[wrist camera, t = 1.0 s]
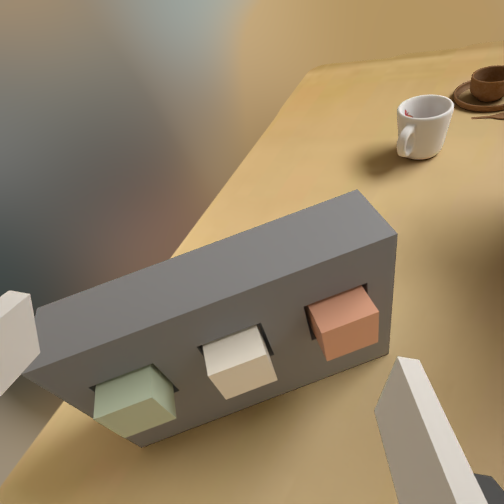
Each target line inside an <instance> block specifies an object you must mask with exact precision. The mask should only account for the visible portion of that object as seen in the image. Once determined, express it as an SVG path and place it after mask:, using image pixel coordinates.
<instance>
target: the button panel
mask: <svg viewBox="0 0 504 504" xmlns="http://www.w3.org/2000/svg"><path fill="white" fill-rule="evenodd" d="M396 248H397V233H396V232H395V230H394V229H393V228H392V227H391V226H390V225H389V224H388V223H387V222H386V220H385V219H384V218H383V217H382V216H381V215H380V214H379V213H378V212H377V210H376V209H375V208H374V207H373V206H372V205H371V204H370V203H369V202H368V201H367V199H366V198H365V197H364V196H363V195H362V194H361V193H360V192H359V191H358V189H357V190H354V191H352V192H349V193H346V194H343V195H341V196H338V197H335V198H333V199H330V200H327V201H325V202H322V203H319V204H317V205H314V206H311V207H308V208H306V209H303V210H300V211H298V212H295V213H292V214H290V215H287V216H284V217H282V218H279V219H276V220H273V221H271V222H268V223H265V224H263V225H260V226H257V227H255V228H252V229H249V230H247V231H244V232H241V233H238V234H236V235H233V236H230V237H228V238H225V239H222V240H220V241H217V242H214V243H212V244H209V245H206V246H203V247H201V248H198V249H195V250H193V251H190V252H187V253H185V254H182V255H179V256H176V257H174V258H171V259H168V260H166V261H163V262H161V263H158V264H155V265H152V266H150V267H147V268H144V269H141V270H139V271H136V272H133V273H131V274H128V275H125V276H123V277H120V278H117V279H115V280H112V281H109V282H106V283H104V284H101V285H98V286H96V287H93V288H91V289H88V290H85V291H82V292H80V293H77V294H74V295H71V296H69V297H66V298H63V299H61V300H58V301H55V302H53V303H50V304H47V305H45V306H42V307H39V308H37V312H36V316H35V325H36V331H37V336H38V342H39V347H40V354H39V355H38V356H37V357H36V358H35V359H34V360H33V361H32V362H31V364H30V365H29V366H28V367H27V368H26V369H25V370H24V371H23V372H22V373H21V375H22V376H24V377H26V378H27V379H29V380H31V381H33V382H34V383H36V384H37V385H39V386H41V387H42V388H44V389H46V390H47V391H49V392H51V393H52V394H54V395H55V396H57V397H59V398H60V399H62V400H64V401H65V402H67V403H69V404H70V405H72V406H73V407H75V408H77V409H78V410H80V411H82V412H83V413H85V414H87V415H88V416H90V417H92V418H93V416H94V402H95V389H96V385H97V384H99V383H102V382H104V381H107V380H110V379H112V378H115V377H118V376H120V375H123V374H126V373H128V372H131V371H134V370H136V369H139V368H142V367H144V366H147V365H150V364H152V363H153V364H154V365H155V366H156V367H157V368H158V369H159V370H160V371H161V372H162V373H163V374H164V375H165V376H166V377H167V378H168V379H169V380H170V381H171V382H172V383H173V389H174V399H175V409H176V419H174V420H171V421H169V422H166V423H163V424H161V425H158V426H155V427H153V428H150V429H148V430H145V431H142V432H140V433H137V434H134V435H132V436H129V437H126V439H128V440H129V441H131V442H133V443H134V444H136V445H138V446H139V447H141V448H142V447H144V446H147V445H150V444H152V443H155V442H157V441H160V440H163V439H165V438H168V437H171V436H173V435H176V434H179V433H181V432H184V431H186V430H189V429H192V428H194V427H197V426H200V425H202V424H205V423H208V422H210V421H213V420H215V419H218V418H221V417H223V416H226V415H229V414H231V413H234V412H236V411H239V410H242V409H244V408H247V407H250V406H252V405H255V404H258V403H260V402H263V401H265V400H268V399H271V398H273V397H276V396H279V395H281V394H284V393H286V392H289V391H292V390H294V389H297V388H300V387H302V386H305V385H308V384H310V383H313V382H315V381H318V380H321V379H323V378H326V377H329V376H331V375H334V374H337V373H339V372H342V371H344V370H347V369H350V368H352V367H355V366H358V365H360V364H363V363H365V362H368V361H371V360H373V359H376V358H379V357H381V356H384V355H387V354H389V341H390V328H391V314H392V301H393V288H394V274H395V261H396ZM360 285H362V287H363V288H364V290H365V291H366V293H367V294H368V296H369V297H370V299H371V300H372V302H373V303H374V305H375V306H376V308H377V309H378V311H379V333H378V342H377V343H375V344H372V345H369V346H367V347H364V348H361V349H359V350H356V351H353V352H351V353H348V354H345V355H343V356H340V357H338V358H335V359H332V360H330V361H327V360H326V358H325V356H324V354H323V352H322V350H321V348H320V345H319V343H318V341H317V339H316V337H315V335H314V333H313V330H312V328H311V326H310V324H309V322H308V320H307V318H306V314H305V310H304V306H307V305H309V304H312V303H315V302H317V301H320V300H323V299H325V298H328V297H331V296H333V295H336V294H339V293H341V292H344V291H347V290H349V289H352V288H355V287H357V286H360ZM256 324H259V326H260V329H261V332H262V335H263V338H264V341H265V344H266V347H267V350H268V353H269V356H270V359H271V362H272V365H273V368H274V370H275V373H276V376H277V379H278V380H277V381H274V382H271V383H269V384H266V385H264V386H261V387H258V388H256V389H253V390H250V391H248V392H245V393H242V394H240V395H237V396H235V397H232V398H229V399H227V400H226V399H225V398H224V396H223V395H222V394H221V393H220V391H219V390H218V389H217V387H216V386H215V385H214V383H213V382H212V381H211V380H210V378H209V377H208V374H207V368H206V363H205V357H204V352H203V346H202V345H203V344H206V343H208V342H211V341H214V340H216V339H219V338H222V337H224V336H227V335H229V334H232V333H235V332H237V331H240V330H243V329H245V328H248V327H251V326H253V325H256Z"/></svg>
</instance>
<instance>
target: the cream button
mask: <svg viewBox="0 0 504 504" xmlns="http://www.w3.org/2000/svg"><path fill="white" fill-rule="evenodd" d="M202 346H203V352H204V357H205V363H206V368H207V374H208V377H209V378H210V380H211V381H212V382H213V383H214V385H215V386H216V387H217V389H218V390H219V391H220V393H221V394H222V395H223V396H224V398H225V399H226V400H227V399H229V398H232V397H235V396H237V395H240V394H242V393H245V392H248V391H250V390H253V389H256V388H258V387H261V386H264V385H266V384H269V383H271V382H274V381H277V380H278V379H277V376H276V373H275V370H274V368H273V365H272V362H271V359H270V356H269V353H268V350H267V347H266V344H265V341H264V338H263V335H262V332H261V329H260V326H259V324H256V325H253V326H251V327H248V328H245V329H243V330H240V331H237V332H235V333H232V334H229V335H227V336H224V337H222V338H219V339H216V340H214V341H211V342H208V343H206V344H203V345H202Z"/></svg>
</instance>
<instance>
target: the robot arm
mask: <svg viewBox="0 0 504 504" xmlns="http://www.w3.org/2000/svg"><path fill="white" fill-rule="evenodd" d="M39 354H40V347H39V342H38V336H37V331H36V325H35V319H34V314H33V308H32V303H31V297H30V294H27V293H21V292H15V291H8V292H6V293H5V294H4V295H2V296H1V297H0V396H1V395H2V394H3V393H4V392H5V391H6V390H7V389H8V387H9V386H10V385H11V384H12V383H13V382H14V381H15V380H16V379H17V378H18V377H19V375H20V374H21V373H22V372H23V371H24V370H25V369H26V368H27V367H28V366H29V365H30V364H31V362H32V361H33V360H34V359H35V358H36V357H37V356H38V355H39ZM374 412H375V415H376V419H377V423H378V427H379V430H380V434H381V438H382V442H383V446H384V449H385V453H386V457H387V461H388V464H389V468H390V472H391V476H392V479H393V483H394V487H395V491H396V494H397V498H398V502H399V504H504V491H503V489H502V488H501V487H500V486H499V485H498V484H497V482H496V481H495V480H494V479H493V478H492V477H491V476H485V475H479V474H474V473H473V471H472V469H471V467H470V465H469V463H468V461H467V459H466V457H465V455H464V453H463V450H462V448H461V446H460V444H459V442H458V440H457V438H456V436H455V434H454V432H453V430H452V427H451V425H450V423H449V421H448V419H447V417H446V415H445V413H444V411H443V409H442V406H441V404H440V402H439V400H438V398H437V396H436V394H435V392H434V390H433V388H432V386H431V383H430V381H429V379H428V377H427V375H426V373H425V371H424V369H423V367H422V365H421V362H420V360H417V359H411V358H405V357H399V356H397V358H396V361H395V363H394V365H393V368H392V370H391V372H390V375H389V377H388V379H387V382H386V384H385V386H384V389H383V391H382V393H381V396H380V398H379V400H378V403H377V405H376V407H375V410H374Z"/></svg>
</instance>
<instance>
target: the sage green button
mask: <svg viewBox="0 0 504 504" xmlns="http://www.w3.org/2000/svg"><path fill="white" fill-rule="evenodd" d="M174 419H176V409H175V399H174V389H173V383H172V382H171V381H170V380H169V379H168V378H167V377H166V376H165V375H164V374H163V373H162V372H161V371H160V370H159V369H158V368H157V367H156V366H155V365H154V364H153V363H152V364H150V365H147V366H144V367H142V368H139V369H136V370H134V371H131V372H128V373H126V374H123V375H120V376H118V377H115V378H112V379H110V380H107V381H104V382H102V383H99V384H97V385H96V389H95V402H94V416H93V420H95V421H96V422H98V423H100V424H101V425H103V426H105V427H106V428H108V429H110V430H111V431H113V432H115V433H116V434H118V435H120V436H121V437H123V438H126V437H129V436H132V435H134V434H137V433H140V432H142V431H145V430H148V429H150V428H153V427H155V426H158V425H161V424H163V423H166V422H169V421H171V420H174Z"/></svg>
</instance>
